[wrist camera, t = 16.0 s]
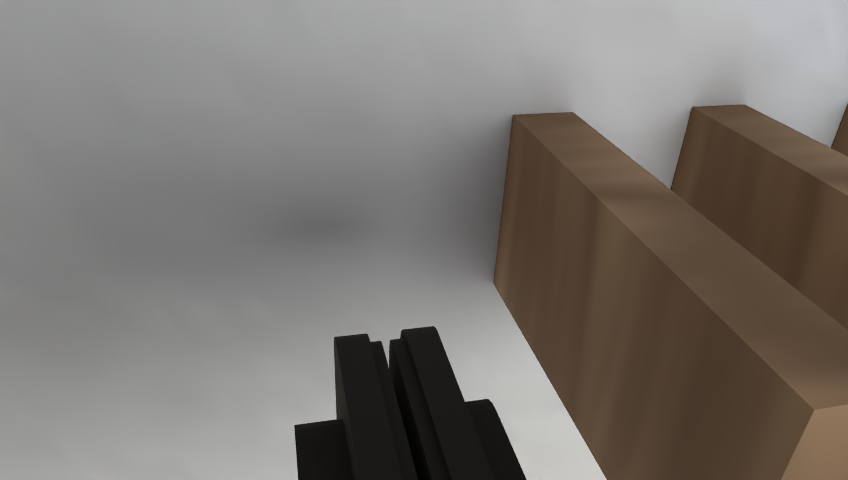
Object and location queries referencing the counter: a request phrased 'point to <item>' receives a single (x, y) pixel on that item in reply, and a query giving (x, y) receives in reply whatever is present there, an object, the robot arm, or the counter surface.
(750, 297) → the domino
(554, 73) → the counter surface
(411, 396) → the robot arm
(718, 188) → the domino
